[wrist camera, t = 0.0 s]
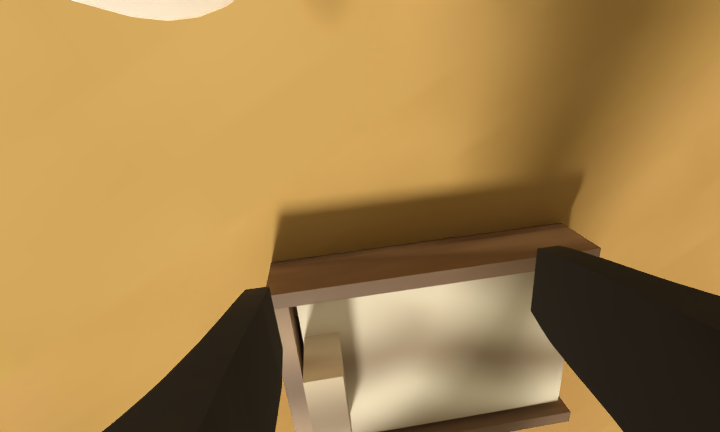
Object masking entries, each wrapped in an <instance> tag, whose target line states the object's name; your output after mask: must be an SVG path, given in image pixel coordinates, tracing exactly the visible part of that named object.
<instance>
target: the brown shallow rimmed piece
mask: <svg viewBox="0 0 720 432" xmlns="http://www.w3.org/2000/svg"><path fill="white" fill-rule="evenodd" d="M552 246H563V247H568V248H571V249H575V250H578V251H582V252H585V253H588V254H591V255H594V256H597V257H599V256H600V250H601V248H600V247H598V246H597V245H595V244H594V243H592V242H590V241H589V240H587V239H586V238H584V237H582V236H581V235H579V234H578V233H576V232H575V231H573V230H571V229H570V228H568V227H567V226H565V225H563V224H562V223H558V224H551V225H544V226H537V227H529V228H522V229H515V230H507V231H500V232H493V233H485V234H478V235H471V236H464V237H456V238H449V239H442V240H434V241H427V242H420V243H413V244H405V245H398V246H391V247H383V248H376V249H369V250H361V251H354V252H347V253H340V254H332V255H325V256H318V257H310V258H303V259H296V260H288V261H281V262H274V263H271V266H270V271H269V276H268V281H267V285H266V287H269V288H270V293H271V297H272V302H273V306H274V311H275V315H276V320H277V324H278V329H279V333H280V338H281V343H282V347H283V367H282V376H283V381H284V385H285V389H286V394H287V398H288V403H289V407H290V411H291V416H292V420H293V424H294V429H295V432H313V430H312V425H311V420H310V415H309V410H308V406H307V401H306V396H305V391H304V386H303V365H304V343H303V338H302V332H301V327H300V322H299V317H298V311H297V306H301V305H308V304H315V303H322V302H329V301H335V300H342V299H349V298H356V297H363V296H370V295H376V294H383V293H390V292H397V291H404V290H411V289H417V288H424V287H431V286H438V285H445V284H452V283H458V282H465V281H472V280H479V279H486V278H492V277H499V276H506V275H513V274H520V273H527V272H533V271H535V265H536V256H537V248H544V247H552ZM569 417H570V411H569V409H568V408H567V407H566V405H565V404H564V403H563V401H562V400H561V399H560V397H559V396H558V401H553V402H548V403H542V404H536V405H530V406H525V407H519V408H513V409H507V410H502V411H496V412H490V413H485V414H479V415H473V416H467V417H462V418H456V419H450V420H444V421H439V422H433V423H427V424H422V425H416V426H410V427H404V428H399V429H393V430H387V431H381V432H510V431H516V430H522V429H527V428H533V427H538V426H544V425H550V424H555V423H561V422H566V421H569Z"/></svg>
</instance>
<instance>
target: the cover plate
mask: <svg viewBox="0 0 720 432" xmlns="http://www.w3.org/2000/svg"><path fill="white" fill-rule="evenodd" d="M534 274H535V271H533V272H527V273H520V274H513V275H506V276H499V277H492V278H486V279H479V280H472V281H465V282H458V283H452V284H445V285H438V286H431V287H424V288H417V289H411V290H404V291H397V292H390V293H383V294H376V295H370V296H363V297H356V298H349V299H342V300H335V301H329V302H322V303H315V304H308V305H301V306H297V311H298V317H299V322H300V327H301V332H302V338H303V343H304V365H303V386H304V391H305V396H306V401H307V406H308V410H309V415H310V420H311V425H312V430H313V432H381V431H387V430H393V429H399V428H404V427H410V426H416V425H422V424H427V423H433V422H439V421H444V420H450V419H456V418H462V417H467V416H473V415H479V414H485V413H490V412H496V411H502V410H507V409H513V408H519V407H525V406H530V405H536V404H542V403H548V402H553V401H558V396H559V390H560V384H561V378H562V372H563V366H564V359H563V358H562V356H561V355H560V354H559V353H558V352H557V350H556V349H555V348H554V347H553V345H552V344H551V343H550V341H549V340H548V338H547V337H546V335H545V334H544V332H543V331H542V329H541V327H540V326H539V324H538V322H537V321H536V319H535V317H534V316H533V314H532V312H531V302H532V293H533V284H534Z"/></svg>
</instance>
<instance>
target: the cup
mask: <svg viewBox="0 0 720 432" xmlns="http://www.w3.org/2000/svg"><path fill="white" fill-rule="evenodd" d="M72 1H75V2H79V3H83V4H86V5H90V6H94V7H97V8H101V9H105V10H108V11H112V12H116V13H119V14H123V15H127V16H131V17H137V18H146V19H156V20H166V21H172V20H180V19H188V18H196V17H201V16H203V15H206V14H208V13H211V12H214V11H216V10H219V9H222V8H224V7H226V6H228V5H229V4H231V3H232V2H233V1H235V0H72Z"/></svg>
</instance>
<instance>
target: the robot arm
mask: <svg viewBox="0 0 720 432" xmlns="http://www.w3.org/2000/svg"><path fill="white" fill-rule="evenodd" d="M531 312H532V314H533V316H534V317H535V319H536V321H537V322H538V324H539V326H540V327H541V329H542V331H543V332H544V334H545V335H546V337H547V338H548V340H549V341H550V343H551V344H552V345H553V347H554V348H555V349H556V350H557V352H558V353H559V354H560V355H561V356H562V358H563V359H564V360H565V361H566V362H567V364H568V365H569V366H570V367H571V369H572V370H573V371H574V372H575V373H576V375H577V376H578V377H579V378H580V379H581V381H582V382H583V383H584V384H585V385H586V387H587V388H588V389H589V390H590V391H591V392H592V394H593V395H594V396H595V397H596V398H597V400H598V401H599V402H600V403H601V404H602V406H603V407H604V408H605V409H606V410H607V412H608V413H609V414H610V415H611V416H612V418H613V419H614V420H615V421H616V423H617V424H618V425H619V427H620V428H621V429H622V430H623V432H720V296H718V295H714V294H711V293H707V292H704V291H701V290H698V289H694V288H691V287H688V286H684V285H681V284H678V283H675V282H672V281H668V280H665V279H662V278H659V277H656V276H653V275H650V274H647V273H644V272H641V271H638V270H635V269H632V268H629V267H626V266H624V265H621V264H618V263H615V262H612V261H609V260H606V259H603V258H600V257H597V256H594V255H591V254H588V253H585V252H582V251H578V250H575V249H571V248H568V247H563V246H552V247H544V248H537V256H536V265H535V274H534V284H533V293H532V302H531ZM282 367H283V347H282V343H281V338H280V333H279V329H278V324H277V320H276V315H275V311H274V306H273V302H272V297H271V293H270V288H269V287H262V288H255V289H248V290H245V291H244V292H243V293H242V294H241V295H240V296H239V297H238V298H237V300H236V301H235V302H234V303H233V304H232V305H231V307H230V308H229V309H228V310H227V311H226V312H225V314H224V315H223V316H222V317H221V318H220V319H219V320H218V322H217V323H216V324H215V325H214V326H213V327H212V328H211V329H210V331H209V332H208V333H207V334H206V335H205V336H204V337H203V338H202V340H201V341H200V342H199V343H198V344H197V345H196V346H195V347H194V348H193V349H192V350H191V351H190V352H189V353H188V354H187V355H186V356H185V357H184V358H183V359H182V360H181V361H180V362H179V363H178V364H177V365H176V366H175V367H174V368H173V369H172V370H171V371H170V372H169V373H168V374H167V375H166V376H165V377H164V378H163V379H162V380H161V381H160V382H159V383H158V384H157V385H156V386H155V387H154V388H153V389H152V390H150V391H149V392H148V393H147V394H146V395H145V396H144V397H143V398H142V399H140V400H139V401H138V402H137V403H136V404H135V405H134V406H132V407H131V408H130V409H129V410H128V411H127V412H125V413H124V414H123V415H122V416H121V417H120V418H118V419H117V420H116V421H115V422H114V423H112V424H111V425H110V426H109V427H107V428H106V429H105V430H104V431H102V432H275V428H276V422H277V415H278V408H279V402H280V395H281V388H282Z"/></svg>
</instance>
